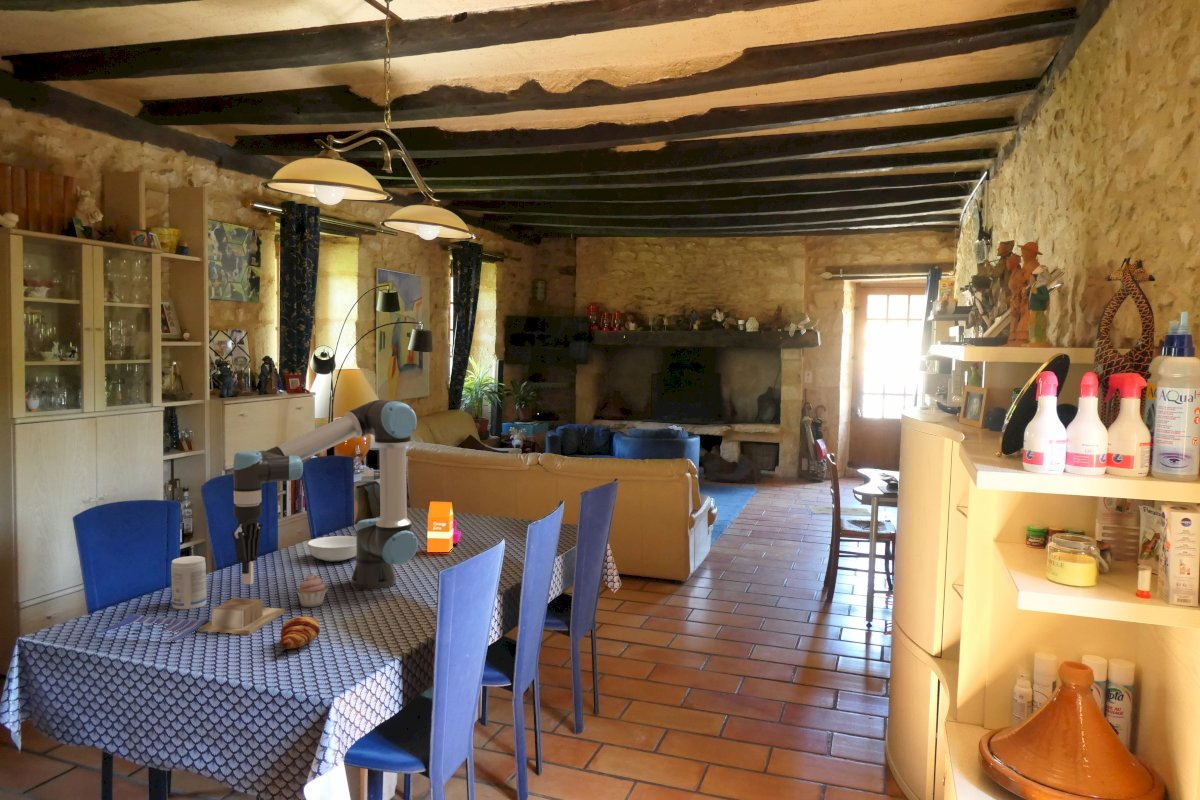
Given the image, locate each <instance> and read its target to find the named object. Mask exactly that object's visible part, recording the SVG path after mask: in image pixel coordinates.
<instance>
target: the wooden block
mask: <svg viewBox="0 0 1200 800" xmlns="http://www.w3.org/2000/svg"><path fill="white" fill-rule="evenodd" d="M263 601H264V599H261V598H260V599H259V598H245V597H244V598H243V597H232V598H231V599H228V600H227V601H225V602H223V603H221V604H220V605H218V606H216V607H213V608H211V621H212V627H225V628H244V627H246V626H247V625H249V624H250V623H252V622H254V621H255V620H257V619H259V618H260V617H262V616H263V608H264V607H263V604H264V603H263Z"/></svg>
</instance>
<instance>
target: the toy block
mask: <svg viewBox="0 0 1200 800" xmlns="http://www.w3.org/2000/svg"><path fill="white" fill-rule="evenodd" d="M461 533H462V531H461V530H460V531H459V530H457V519H453V543H458V541H459V539H460V537H461V536H462V535H461ZM459 542H460V541H459ZM458 544H459V543H458Z"/></svg>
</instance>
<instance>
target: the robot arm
mask: <svg viewBox="0 0 1200 800" xmlns="http://www.w3.org/2000/svg"><path fill="white" fill-rule="evenodd" d="M417 419H418V418H417V415H416V412H415V411H414V409H413V408H412V407H411V406H410V405H409V404H408V403H405V402H401V401H397V400H385V399H375V400H371V401H369V402H367V403H364V404H362V405H360V406H358V407H355V408H353V409H351V410H348V411H346V413H345V414H344V416H342V417H341V418H337V419H336V420H333V421H330V422H328V423H327V424H324V425H322V426H319V427H317V428H315V429H312V430H310V431H308V432H306V433H303V434H302V435H298V436H297V437H294V438H291V439H290V440H288V441H285V442H283V443H280V444H278V445H275V446H273V447H270V448H269V449H267V450H258V451H256V450H248V451H247V450H245V451H244V450H243V451H238V452H236V453H235V454H234V456H233V467H232V470H233V472H232V473H233V493H232V495H233V504H235V505H234V506H233V518H234V519H236V520H237V524H236V527H237V529H236V530H235V531H232V532H231V535H232V538H233V542H234V549H235V555H236V561H237V562H238V563H241V584H242V585H252V584H254V561H255V562H257V560H258V558H257V557H258V556H259V552H260V551H259V550H260V541H261V532H262V528H263V523H259V520H258V519H259V518H261V517H262V504H261V503H262V501H263V500H262V484H264V483H265V484H267V483H275V482H291V481H295V480H300V479H301V478H302V477H303V476H302V475H303V472H304V464H303V461H304V460H307V459H308V458H310V457H312V456H315V455H317V454H319V453H322V452H324V451H326V450H329V449H331V448H332V447H333V448H334V447H335V446H337V445H339V444H342V443H344V442H346V441H349V440H352V439H353V438H357V439H359V438H362V437H364V436H369V435H374V443H375V444H376V446H378V448H379V498H380V499H379V501H380V502H379V503H380V504H379V509H380V511H379V512H380V516H379V517H375V518H366V519H361V520H359V521H358V522H357V523H356V530H355V533H356V537H357V555H356V560H355V561H356V562H355V563H356V564H355V567H354V570H353V573H352V575H351V579H350V586H351V585H352V586H353V587H352V586H351V587H352V588H354V587H355V588H354V589H356V588H359V589H358V590H361V589H381V588H386V587H389V586H392V585H394V584H395V583H396V584H397V575H396V573H395V569H394V567H393V565H396V566H397V565H398V566H400V565H403V564H406V563H408V562H410V561H411V560H412V558H413V557H414V556H415V555H416V553H417V551H418V546H419V541H418V538H417V536H416V535H415V534H414V532H413V531H412V527H413V526H412V525H413V524H412V520H411V519H409V518H408V515H407V514H408V513H407V512H408V510H407V509H408V507H407V504H408V503H407V500H408V499H407V497H408V495H407V492H408V491H407V446H409V444H410V443H411V442H412V441H411V440H412V439H411V438H412V436H411V435H412V434H413V433H414V431H416V428H417V425H418V424H417V423H418V420H417ZM396 584H395V585H396ZM395 585H394V586H395ZM392 587H393V586H392ZM386 589H387V588H386ZM381 590H382V589H381Z"/></svg>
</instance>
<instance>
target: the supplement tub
mask: <svg viewBox="0 0 1200 800" xmlns="http://www.w3.org/2000/svg"><path fill="white" fill-rule="evenodd" d="M170 566H171V567H170V570H171V571H170V572H171V573H170V574H171V577H170V579H171V607H172V608H173V609H176V610H193V609H197V608H198V609H199V608H201V607H203V606H205V605H206V604H207V601H208V599H207V566H206V557H204V556H199V555H188V556H180V557H178V558H174V559H173V560H171V565H170Z"/></svg>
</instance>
